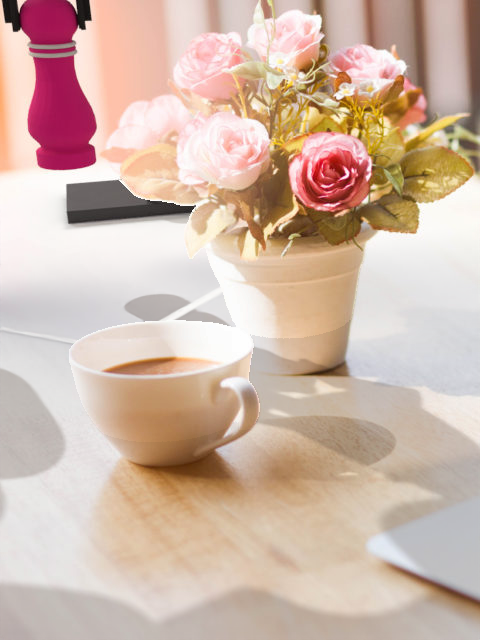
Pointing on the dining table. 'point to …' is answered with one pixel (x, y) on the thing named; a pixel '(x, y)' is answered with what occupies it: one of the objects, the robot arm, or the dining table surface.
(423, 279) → the dining table surface
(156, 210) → the scale
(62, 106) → the pepper mill
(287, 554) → the dining table surface
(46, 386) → the dining table surface
